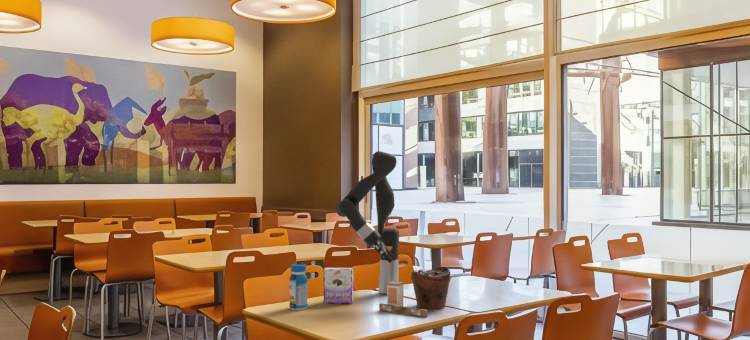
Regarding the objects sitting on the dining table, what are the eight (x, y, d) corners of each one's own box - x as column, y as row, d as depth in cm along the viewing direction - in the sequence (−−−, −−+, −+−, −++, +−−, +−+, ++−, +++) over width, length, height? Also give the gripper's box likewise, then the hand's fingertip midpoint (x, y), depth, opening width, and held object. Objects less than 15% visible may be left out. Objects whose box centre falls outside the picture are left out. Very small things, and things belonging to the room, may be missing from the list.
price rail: (379, 310, 290) (379, 304, 290) (380, 310, 291) (380, 303, 291) (425, 317, 276) (425, 310, 276) (427, 316, 277) (427, 309, 277)
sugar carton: (387, 309, 292) (387, 282, 292) (392, 307, 297) (392, 281, 297) (398, 310, 290) (398, 283, 290) (403, 308, 295) (403, 282, 295)
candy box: (353, 301, 310) (353, 267, 310) (352, 304, 304) (352, 269, 304) (325, 301, 311) (325, 266, 311) (323, 303, 305) (323, 268, 306)
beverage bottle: (304, 310, 289) (304, 266, 289) (286, 310, 291) (286, 265, 291) (310, 307, 297) (310, 263, 298) (292, 306, 299) (292, 263, 299)
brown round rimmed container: (403, 308, 294) (404, 268, 294) (421, 300, 312) (421, 263, 312) (439, 312, 286) (440, 272, 286) (455, 305, 304) (456, 267, 304)
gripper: (373, 230, 294) (397, 257, 294) (375, 226, 308) (398, 252, 308) (360, 241, 295) (384, 268, 294) (364, 237, 309) (387, 262, 309)
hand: (392, 260), depth 301 cm, fingers open, 8 cm apart
